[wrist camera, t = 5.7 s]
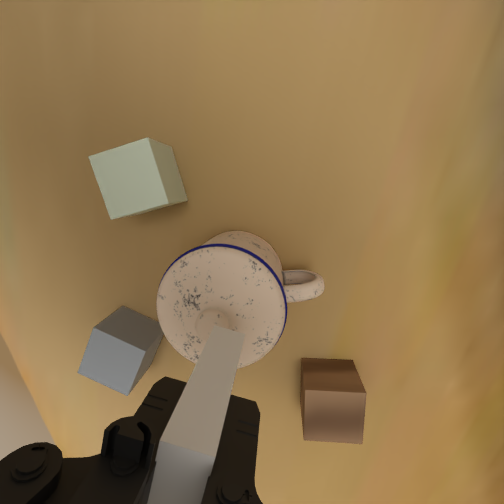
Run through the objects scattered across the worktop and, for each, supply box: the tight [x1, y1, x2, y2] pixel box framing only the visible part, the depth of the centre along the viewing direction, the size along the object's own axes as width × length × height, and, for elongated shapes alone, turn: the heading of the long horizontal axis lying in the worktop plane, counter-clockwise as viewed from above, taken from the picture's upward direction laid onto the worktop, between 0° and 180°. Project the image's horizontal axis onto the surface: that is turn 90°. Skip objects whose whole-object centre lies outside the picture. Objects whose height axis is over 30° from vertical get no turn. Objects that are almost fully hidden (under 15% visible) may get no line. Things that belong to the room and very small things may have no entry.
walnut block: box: [300, 358, 366, 444], centre depth 28 cm, size 5×5×5 cm
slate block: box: [78, 306, 164, 396], centre depth 29 cm, size 5×5×5 cm
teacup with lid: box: [156, 231, 325, 369], centre depth 23 cm, size 12×9×12 cm
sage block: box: [88, 137, 188, 220], centre depth 25 cm, size 5×5×5 cm
